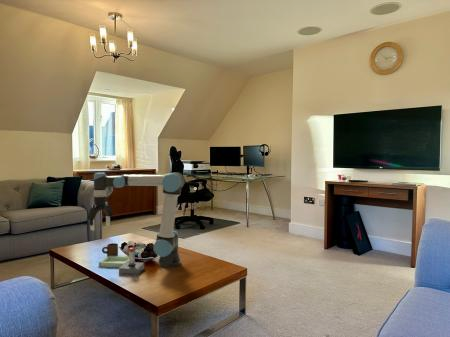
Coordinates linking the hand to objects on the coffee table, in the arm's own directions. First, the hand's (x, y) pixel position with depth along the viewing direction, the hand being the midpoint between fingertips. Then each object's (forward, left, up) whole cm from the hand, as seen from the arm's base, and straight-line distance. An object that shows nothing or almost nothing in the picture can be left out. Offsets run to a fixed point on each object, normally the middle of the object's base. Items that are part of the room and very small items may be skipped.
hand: (100, 228), depth 204 cm
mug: (+3, -19, -27) cm, 33 cm away
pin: (-23, +4, -27) cm, 36 cm away
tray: (-7, -8, -27) cm, 29 cm away
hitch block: (-23, +4, -27) cm, 36 cm away
